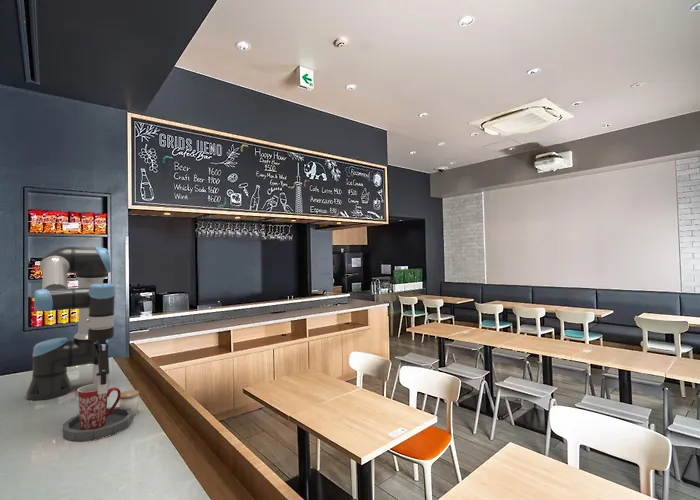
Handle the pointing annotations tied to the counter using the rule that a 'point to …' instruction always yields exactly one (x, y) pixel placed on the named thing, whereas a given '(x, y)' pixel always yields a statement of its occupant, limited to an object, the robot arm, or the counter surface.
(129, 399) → the pot
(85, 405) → the mug
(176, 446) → the counter surface
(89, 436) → the tray
